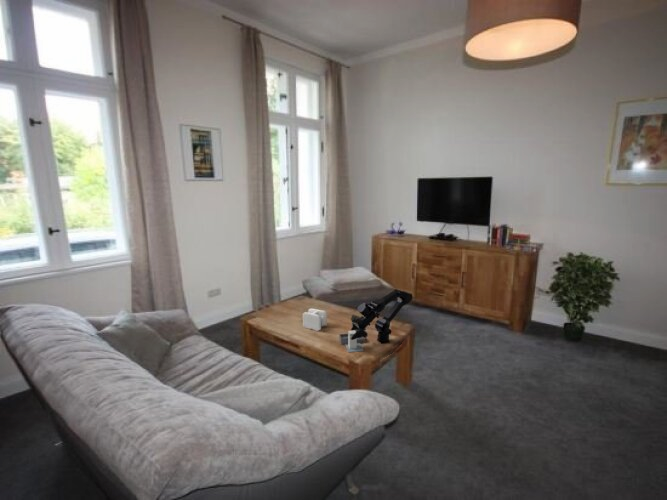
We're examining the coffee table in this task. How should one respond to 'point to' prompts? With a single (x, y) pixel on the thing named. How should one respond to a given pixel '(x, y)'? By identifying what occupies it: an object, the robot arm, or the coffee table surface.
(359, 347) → the rubber pad
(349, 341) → the block
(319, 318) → the cable organizer
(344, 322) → the coffee table surface
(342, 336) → the power strip
